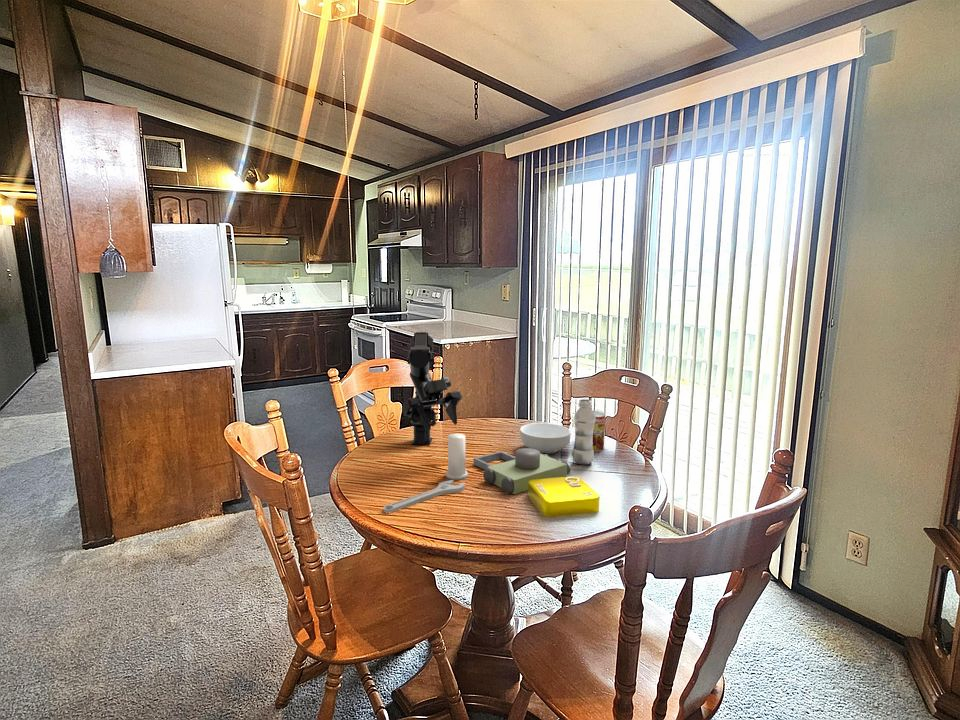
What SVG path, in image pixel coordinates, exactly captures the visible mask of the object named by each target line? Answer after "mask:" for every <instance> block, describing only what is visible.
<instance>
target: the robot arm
mask: <svg viewBox="0 0 960 720" xmlns="http://www.w3.org/2000/svg"><path fill="white" fill-rule="evenodd" d="M407 353H408V354H407V364H408V365H409V367H410V369H409V370H410V371H409V377H410V379H411V381H412V384H413V386H414V388H415V392H414V394H415V397H409V398H407V399H406V401H405V402H404V404H402V405H403V406H402V407H401V413H402V414H403V416H404V417H407V416H408V421H409V425H408V426H409V427H410V428H411V427H413V439H412V441H411V442H410V443H411V445H427V446H428V445H429V446H430V445H431V444H432V441H433V439H434V438H433V437H431V429H432V427H435V426H436V425H437V412H435V409H434V408H432V407H433V406H439V405H442V406H443V407H444V408H445V409H444V411H445V413H446V414H447V416H448V417H449V419H450V420H451V422H452V423H453V424H454V426H456V425H457V424H458V418H457V416H458V415H457V406H458V404H459V403H460V402H461V400H462V399H463V396H462V393H461V392H460V391H458V390H454V391H450V392H447V394H445V396H443V394H444V391H447V390H448V388H451V386H452V383H451V382H452V381H451V380H450V377H449V376H443V377H441V378H440V379H436V380H433V379H432V376H431V375H430V367H431V365H432V364H433V363H435V355H434V338H433V337H431V336H430V335H429V332H427V331H415V332H414V333H413V336H412V337H411V338H409V352H407ZM441 396H443V397H441Z"/></svg>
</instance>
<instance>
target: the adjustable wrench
mask: <svg viewBox="0 0 960 720" xmlns="http://www.w3.org/2000/svg"><path fill="white" fill-rule="evenodd" d="M465 488H466V483H465V482H464V481H463V482H461V483H460V484H455V480H451V479H448V480H445V481H441V482H438V484H437V487H435V488H433V489H430V490H427V491H424V492H421V493H418V494H416V495H413V496H410V497H407V498H404V499H401V500H398V501H395V502H392V503H390V504H389V503H388V504H387V505H384V506H383V508H382V509H383V511H384V512H387V513H386V514H390V513H389V512H392V513H394V512H393V511H395V512H397V511H396V510H398V511H399V509H401V510H403V509H405V507H406V508H408V506H409V507H411V506H414V505H417V504H419V503H422V502H426V501H427V500H430V499H433V498H435V497H439V496H442V495H448V494H457V493H461V492H464V491H465ZM416 503H417V504H416ZM413 504H414V505H413ZM402 508H403V509H402ZM384 512H383V513H384Z"/></svg>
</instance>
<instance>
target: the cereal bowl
mask: <svg viewBox="0 0 960 720" xmlns="http://www.w3.org/2000/svg"><path fill="white" fill-rule="evenodd" d="M519 438H520V441H521V443H522V444H524V446H525V447H526V448H531V449H536V450H538V451H539V452H540V454H543V453H549V454H554V453H556V452H558V451H561V450H563V449H565V448H566V447H567V446H568V444H570V440H571V430H570V429H569V428H568V427H566V426H563V425H559V424H554V423H548V422H547V423H546V422H532V423H528V424H527V423H526V424H524V425H522V426H521V427H520V429H519ZM555 451H556V452H555ZM553 452H554V453H553Z"/></svg>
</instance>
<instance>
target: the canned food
mask: <svg viewBox="0 0 960 720" xmlns="http://www.w3.org/2000/svg"><path fill="white" fill-rule="evenodd" d="M592 411H593V412H594V414H595V417H596V419H595V425H594V430H593V451H594V453H598V451H599V452H602V451H604V450H605V449H604V448H605V432H606V431H605V429H606V413H605V412H603V411H599V410H592Z"/></svg>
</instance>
